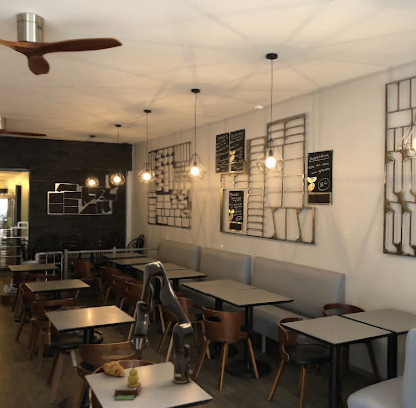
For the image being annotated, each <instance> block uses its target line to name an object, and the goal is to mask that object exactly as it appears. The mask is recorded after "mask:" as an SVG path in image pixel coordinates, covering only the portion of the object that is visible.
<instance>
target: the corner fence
mask: <svg viewBox="0 0 416 408" xmlns="http://www.w3.org/2000/svg"><path fill="white" fill-rule="evenodd" d="M141 388H142V382H138V386H136V388H129V389H128V388H125V389H124V388H123V389H122V388H121V389H118V388H117V389H115V390H114V397H117V395H135V396H134V397H136V396H138V395H139V394H140V391H141Z"/></svg>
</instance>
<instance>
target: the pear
mask: <svg viewBox="0 0 416 408" xmlns="http://www.w3.org/2000/svg"><path fill="white" fill-rule="evenodd" d="M128 374H129V375H128V376H127V383H128V387H130V388H135V387H137V386H138V383H139V382H140V376H139V374H138V370H137V368H135V366H134V365H133V366H132V368H130V370H129V372H128Z"/></svg>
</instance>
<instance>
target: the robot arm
mask: <svg viewBox="0 0 416 408" xmlns="http://www.w3.org/2000/svg"><path fill="white" fill-rule="evenodd" d="M157 277H158V279H159V281H160V290H159V299H160V301H161V304H162V306H163V308H164V309H165V311H167V313H169V314H170V315H171V316H172V317H173V318H175V320H176V322H177V323H178V324H175V325H174V326H173V327H172V333H171V337H172V347H173V378H172V379H173V382H174V383H176V384H186V383H190V380H191V381H193V380H194V379H195V374H194V373H193V369H191V358H190V357H191V346H190V345H189V344H187V343H185V340H186V339H189V338H192V337H193V335H194V328H193V326H192V323H191V322H190V321H189V319H188V317H187V315H186V314H185V312H184V310H183V308H182V306H181V304H180V302H179V300H178V298H177V295H176V293H175V291H174V289H173V287H172V285H171V282H170V280H169V277H168V275H167V272H166V269H165V266H164V264H163V263H162V261H159V260H158V261H154V262H148V263H147V264H145V265H144V267H143V284H142V285H143V286H142V292H141V296H140V300H139V301H137V303H136V305H135V310H136V324H135V328H134V335H133V338H132V340H129V341H128V344H129V346H130V347H131V348H132V350H133V351H135V352H134V353H135V357H137V358H139V357H140V356H141V353H142V351H144V350H145V349H147V347H148V346H149V345H150V344H151V342H150V340H148V337H147V335H148V328H149V315H148V314H150V313H152V311H153V296H154V292H155V291H154V287H153V285H152V283H151V280H152V279H154V278H157Z"/></svg>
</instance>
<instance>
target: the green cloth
mask: <svg viewBox="0 0 416 408" xmlns="http://www.w3.org/2000/svg"><path fill="white" fill-rule="evenodd" d="M135 397H136V396H135V395H117V396H115V401H134V399H135Z"/></svg>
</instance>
